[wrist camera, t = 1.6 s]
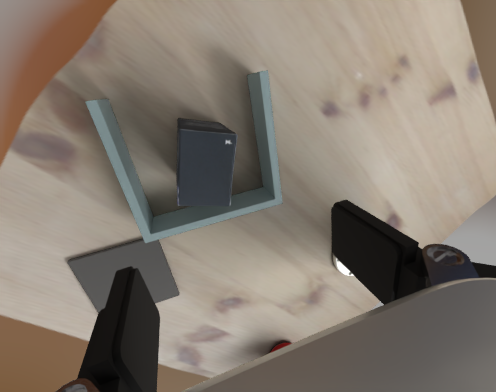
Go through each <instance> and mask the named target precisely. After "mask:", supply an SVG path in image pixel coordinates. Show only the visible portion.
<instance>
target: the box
mask: <svg viewBox="0 0 496 392" xmlns="http://www.w3.org/2000/svg"><path fill="white" fill-rule="evenodd" d="M237 137H238V136H237V134H235V133H234V132H232V131H231V130H229V129H228V128H227V127H225V126H224V125H222V124H220V123H215V122H207V121H197V120H189V119H181V118H178V132H177V173H176V175H177V204H178V206H230V205H231V190H232V179H233V170H234V160H235V152H236V144H237Z"/></svg>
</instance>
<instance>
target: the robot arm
mask: <svg viewBox="0 0 496 392" xmlns="http://www.w3.org/2000/svg"><path fill="white" fill-rule="evenodd" d="M331 220H332V252H333V262H334V265H335V267H336V268H337V269H338V270H339V271H340V272H341V273H342V274H344V275H347V276H355V277H356V278H357V279H358V280H359V281H360V282H361V283H362V284H363V285H364V286H365V287H366V288H367V289H368V290H369V291H370V292H372V293H373V294H374V295H375V296H376V297H377V298H378V299H379V300H380V301H381V302H382V303H383V304H384V305H383V306H380V307H378V308H376V309H374V310H371V311H368V312H366V313H364V314H361V315H359V316H356V317H354V318H352V319H349V320H347V321H344V322H342V323H340V324H337V325H335V326H333V327H330V328H328V329H325V330H323V331H321V332H318V333H316V334H314V335H311V336H309V337H307V338H304V339H302V340H299V341H297V342H295V343H292V344H290V345H288V346H285V347H283V348H281V349H278V350H276V351H274V352H271V353H269V354H267V355H264V356H262V357H260V358H257V359H255V360H253V361H250V362H248V363H246V364H243V365H241V366H239V367H236V368H234V369H232V370H229V371H227V372H225V373H222V374H220V375H218V376H216V377H213V378H211V379H209V380H206V381H204V382H202V383H200V384H197V385H195V386H193V387H191V388H189V389H186V390H184V391H182V392H496V266H492V265H486V264H480V263H474V262H471V261H470V259H469V257H468V256H467V255H466V254H465V253H463V252H462V251H461V250H458V249H457V248H454V247H451V246H448V245H443V244H430V245H427V246H425V247H424V248H423V249H421V248H419V247H418V244H419V243H418V242H417V241H415V240H413V239H412V238H410V237H408V236H407V235H405V234H403V233H402V232H400V231H398V230H397V229H395V228H393V227H391V226H390V225H388V224H386V223H385V222H383V221H381V220H380V219H378V218H376V217H375V216H373V215H371V214H370V213H368V212H366V211H365V210H363V209H361V208H360V207H358V206H356V205H355V204H353V203H351V202H350V201H348V200H343V201H340V202H337V203H335V204H334V207H332V209H331ZM159 327H160V316H159V311H158V309H157V307H156V305H155V303H154V301H153V299H152V296H151V294H150V292H149V290H148V288H147V286H146V284H145V282H144V279H143V277H142V275H141V273H140V271H139V269H138V268H135V269H134V268H133V267H132V266H130V267H127V268H123V269H120V270H117V271H116V273H115V276H114V280H113V283H112V286H111V289H110V293H109V296H108V299H107V302H106V306H105V308H104V309H102V310H100V312H99V314H98V317H97V320H96V323H95V326H94V329H93V332H92V335H91V338H90V341H89V344H88V347H87V350H86V354H85V356H84V359H83V363H82V365H81V368H80V371H79V375H78V378H77V379H76V380H73V381H71V382H69V383H67V384H65V385H63V386H62V387H61V388H60V389H58V390H57V391H56V392H157V391H156V390H157V370H158V349H159Z"/></svg>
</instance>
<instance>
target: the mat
mask: <svg viewBox="0 0 496 392" xmlns="http://www.w3.org/2000/svg"><path fill="white" fill-rule="evenodd" d="M67 263H68V264H69V266H70V267H71V269H72V271H73V272H74V274H75V276H76V277H77V279H78V280H79V282H80V284H81V285H82V287H83V288H84V290H85V292H86V293H87V295H88V296H89V298H90V300H91V301H92V303H93V304H94V306H95V308H96V309H97V311H98V313H99V312H100V310H102V309H104V308H105V306H106V302H107V299H108V296H109V293H110V289H111V286H112V283H113V280H114V276H115V273H116V271H117V270H120V269H123V268H127V267H130V266H132V267H133V268H134V269H135V268H138V269H139V271H140V273H141V275H142V277H143V279H144V282H145V284H146V286H147V288H148V290H149V292H150V294H151V296H152V299H153V301H154V303H158V302H161V301H163V300H166V299H169V298H172V297H175V296H178V295H179V291H178V288H177V286H176V283H175V281H174V278H173V276H172V273H171V270H170V268H169V265H168V263H167V260H166V258H165V255H164V253H163V250H162V247H161V245H160V242H159V240H155V241H152V242H148V243H145V242H144V239H140V240H137V241H133V242H130V243H126V244H123V245H119V246H116V247H112V248H109V249H105V250H102V251H98V252H95V253H91V254H88V255H84V256H81V257H77V258H74V259H70V260H69V261H68V262H67Z"/></svg>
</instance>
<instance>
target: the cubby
mask: <svg viewBox="0 0 496 392" xmlns="http://www.w3.org/2000/svg"><path fill="white" fill-rule="evenodd" d="M247 79H248V86H249V92H250V99H251V106H252V113H253V120H254V127H255V134H256V141H257V147H258V154H259V161H260V168H261V175H262V182H263V187H261V188H258V189H254V190H250V191H247V192H243V193H239V194H236V195H232V196H231V205H230V206H191V207H188V208H184V209H180V210H177V211H173V212H169V213H165V214H162V215H158V216H154V217H153V214H152V212H151V209H150V207H149V204H148V201H147V199H146V196H145V194H144V191H143V188H142V186H141V183H140V180H139V178H138V175H137V173H136V170H135V167H134V165H133V162H132V160H131V157H130V154H129V152H128V149H127V147H126V144H125V141H124V139H123V136H122V133H121V131H120V128H119V126H118V123H117V120H116V118H115V115H114V113H113V110H112V107H111V105H110V102H109V100H108V99H100V100H92V101H86V105H87V107H88V109H89V112H90V114H91V116H92V119H93V121H94V124H95V126H96V128H97V131H98V133H99V135H100V138H101V140H102V142H103V145H104V147H105V149H106V152H107V154H108V157H109V159H110V161H111V164H112V166H113V168H114V171H115V173H116V175H117V178H118V180H119V183H120V185H121V187H122V190H123V192H124V194H125V197H126V199H127V201H128V204H129V206H130V209H131V211H132V213H133V216H134V218H135V220H136V223H137V225H138V227H139V230H140V232H141V234H142V237H143V239H144V242H145V243H148V242H152V241H155V240H158V239H162V238H165V237H169V236H172V235H176V234H179V233H183V232H186V231H189V230H193V229H196V228H200V227H203V226H207V225H210V224H214V223H217V222H221V221H224V220H227V219H231V218H234V217H238V216H241V215H245V214H248V213H252V212H255V211H258V210H262V209H265V208H269V207H272V206H276V205H279V204H283V202H282V193H281V184H280V175H279V166H278V157H277V148H276V139H275V130H274V121H273V112H272V103H271V94H270V85H269V76H268V70H267V71H261V72H257V73H253V74H249V75H247Z"/></svg>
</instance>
